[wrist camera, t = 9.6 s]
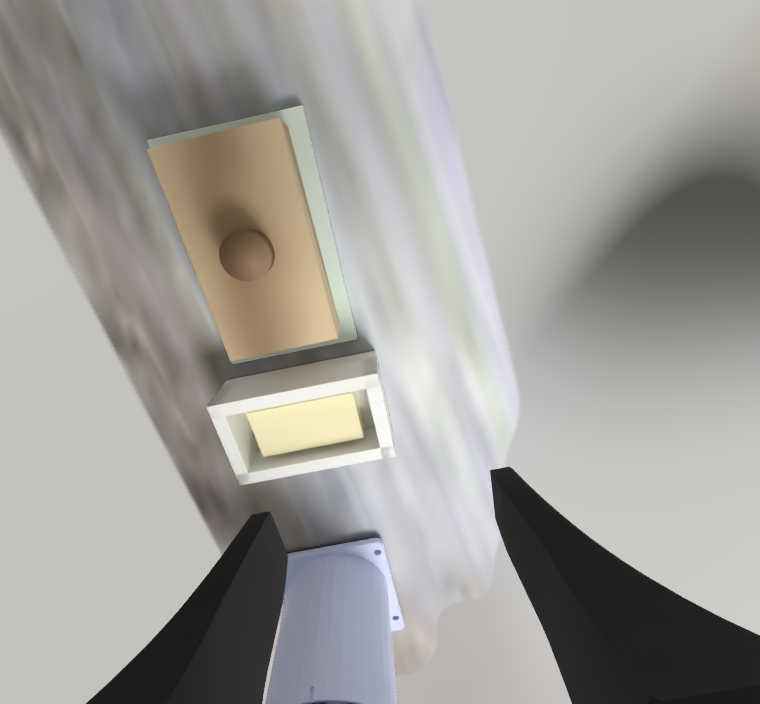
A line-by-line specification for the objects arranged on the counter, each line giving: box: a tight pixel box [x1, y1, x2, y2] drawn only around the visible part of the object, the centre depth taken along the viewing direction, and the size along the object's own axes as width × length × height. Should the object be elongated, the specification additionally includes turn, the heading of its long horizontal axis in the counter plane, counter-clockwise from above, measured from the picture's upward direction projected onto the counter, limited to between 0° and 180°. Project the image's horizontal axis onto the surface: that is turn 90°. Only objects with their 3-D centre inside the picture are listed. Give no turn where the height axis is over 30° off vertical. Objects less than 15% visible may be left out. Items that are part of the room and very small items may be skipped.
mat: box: [147, 105, 357, 364], centre depth 19 cm, size 11×7×1 cm, turn 11°
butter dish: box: [207, 351, 395, 485], centre depth 21 cm, size 5×9×3 cm, turn 101°
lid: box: [147, 118, 340, 361], centre depth 17 cm, size 5×9×3 cm, turn 12°
